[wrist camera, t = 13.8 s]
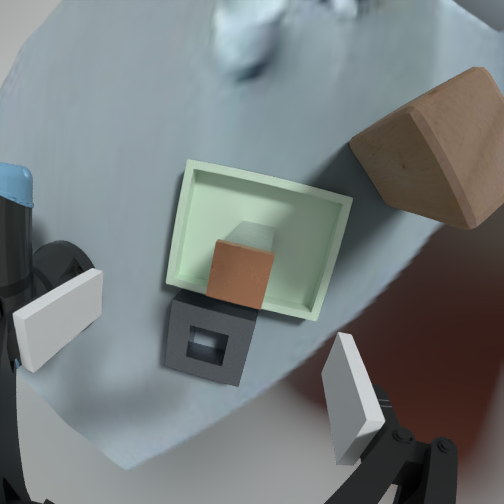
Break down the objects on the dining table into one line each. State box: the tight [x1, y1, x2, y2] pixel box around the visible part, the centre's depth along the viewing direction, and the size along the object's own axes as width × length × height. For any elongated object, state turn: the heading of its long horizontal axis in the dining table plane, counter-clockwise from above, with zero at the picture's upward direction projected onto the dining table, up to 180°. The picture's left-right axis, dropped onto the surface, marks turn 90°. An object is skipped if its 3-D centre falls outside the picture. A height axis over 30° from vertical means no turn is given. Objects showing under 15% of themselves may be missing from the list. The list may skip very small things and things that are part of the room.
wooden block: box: [349, 67, 504, 230], centre depth 25 cm, size 10×10×20 cm
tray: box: [166, 159, 353, 321], centre depth 38 cm, size 20×16×3 cm
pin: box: [206, 220, 275, 310], centre depth 31 cm, size 5×5×15 cm
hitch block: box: [165, 289, 258, 387], centre depth 41 cm, size 11×11×4 cm
